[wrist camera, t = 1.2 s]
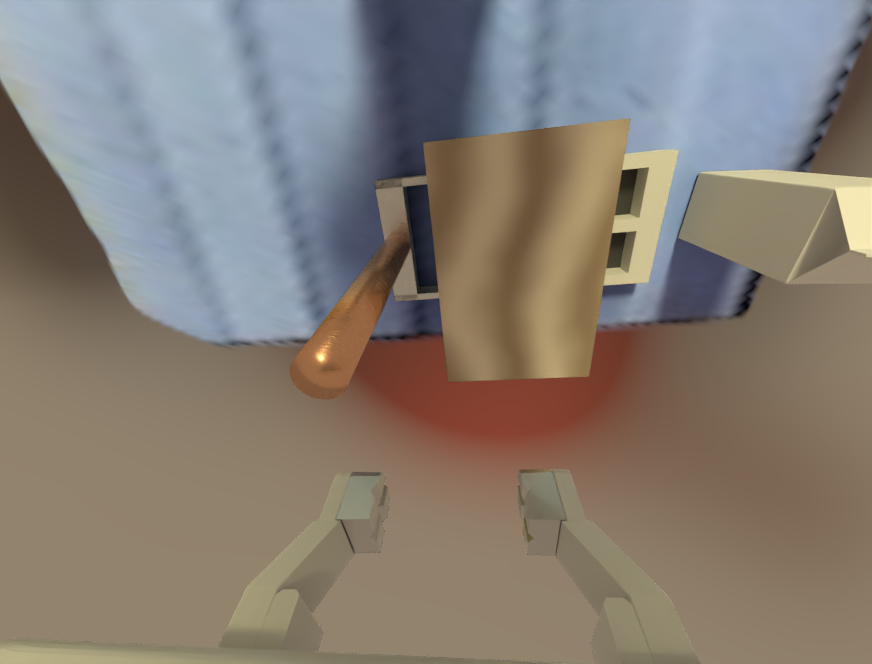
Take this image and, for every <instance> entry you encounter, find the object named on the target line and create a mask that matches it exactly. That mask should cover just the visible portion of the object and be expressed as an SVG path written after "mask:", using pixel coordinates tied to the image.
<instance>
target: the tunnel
mask: <svg viewBox="0 0 872 664" xmlns="http://www.w3.org/2000/svg"><path fill="white" fill-rule="evenodd" d="M629 125H630V118H629V119H620V120H612V121H603V122H595V123H586V124H578V125H569V126H561V127H552V128H544V129H535V130H527V131H518V132H510V133H501V134H493V135H484V136H476V137H467V138H459V139H450V140H442V141H433V142H425V143H423V147H424V157H425V166H426V176H427V185H428V195H429V205H430V214H431V224H432V234H433V243H434V253H435V262H436V272H437V282H438V291H439V301H440V311H441V320H442V330H443V339H444V349H445V359H446V368H447V378H448V382H460V381H484V380H485V381H486V380H510V379H532V378H533V379H534V378H559V377H583V376H589V372H590V366H591V359H592V353H593V347H594V340H595V334H596V329H597V322H598V316H599V310H600V304H601V298H602V292H603V285H604V279H605V273H606V267H607V261H608V254H609V248H610V242H611V236H612V230H613V223H614V217H615V211H616V205H617V199H618V193H619V186H620V180H621V174H622V168H623V162H624V155H625V149H626V143H627V137H628V131H629Z"/></svg>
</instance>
